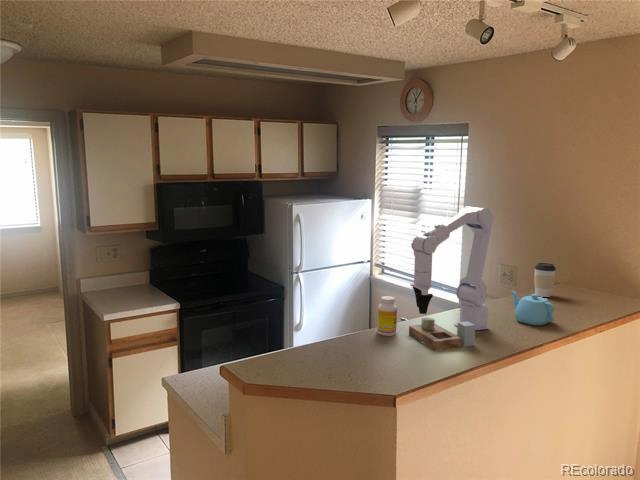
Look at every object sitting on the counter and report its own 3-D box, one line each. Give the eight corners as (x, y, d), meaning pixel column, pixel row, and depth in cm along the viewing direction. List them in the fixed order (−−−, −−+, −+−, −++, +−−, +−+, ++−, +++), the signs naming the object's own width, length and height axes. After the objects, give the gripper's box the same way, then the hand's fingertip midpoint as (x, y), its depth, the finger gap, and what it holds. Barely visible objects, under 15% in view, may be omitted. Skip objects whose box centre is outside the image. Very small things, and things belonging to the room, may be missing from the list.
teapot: (519, 286, 204) (563, 296, 190) (517, 312, 206) (561, 324, 191) (501, 291, 196) (546, 301, 182) (499, 318, 198) (544, 330, 184)
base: (433, 331, 182) (434, 314, 181) (461, 346, 166) (462, 329, 165) (408, 334, 178) (409, 317, 177) (435, 350, 163) (435, 332, 162)
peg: (466, 341, 172) (467, 321, 171) (474, 345, 168) (475, 324, 167) (456, 342, 170) (457, 322, 169) (464, 346, 167) (465, 326, 166)
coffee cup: (534, 297, 228) (537, 265, 226) (530, 292, 237) (532, 261, 235) (556, 298, 227) (559, 265, 225) (550, 293, 236) (553, 262, 233)
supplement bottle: (395, 337, 175) (397, 300, 173) (376, 335, 176) (377, 299, 174) (396, 330, 182) (397, 295, 180) (377, 329, 183) (378, 294, 181)
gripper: (408, 266, 178) (407, 304, 181) (413, 275, 164) (411, 316, 166) (429, 266, 178) (427, 304, 180) (435, 276, 164) (433, 316, 166)
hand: (421, 310), depth 173 cm, fingers open, 7 cm apart
